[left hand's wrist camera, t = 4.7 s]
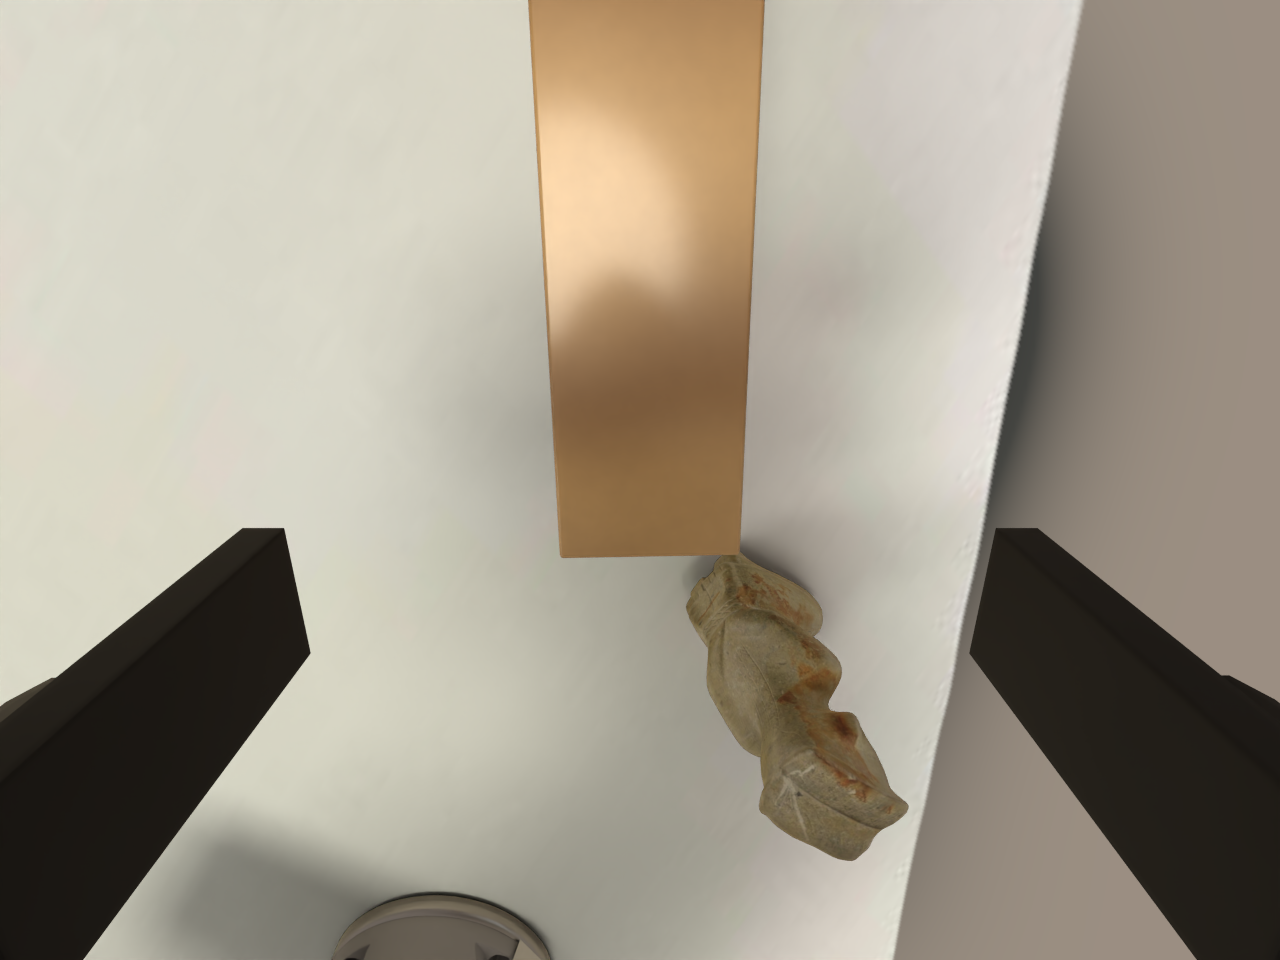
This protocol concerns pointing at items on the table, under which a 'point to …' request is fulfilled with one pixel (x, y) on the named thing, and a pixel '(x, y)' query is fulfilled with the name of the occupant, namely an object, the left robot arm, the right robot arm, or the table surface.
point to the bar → (647, 265)
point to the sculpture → (790, 708)
